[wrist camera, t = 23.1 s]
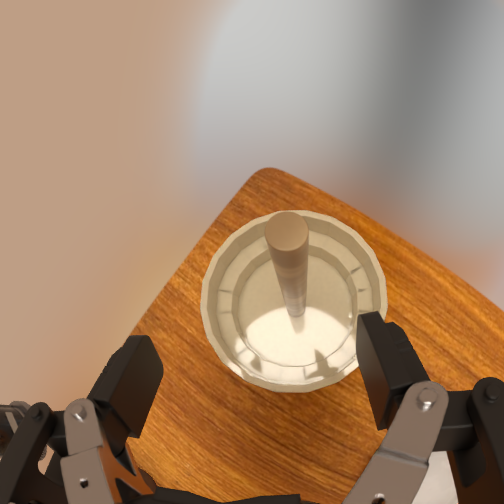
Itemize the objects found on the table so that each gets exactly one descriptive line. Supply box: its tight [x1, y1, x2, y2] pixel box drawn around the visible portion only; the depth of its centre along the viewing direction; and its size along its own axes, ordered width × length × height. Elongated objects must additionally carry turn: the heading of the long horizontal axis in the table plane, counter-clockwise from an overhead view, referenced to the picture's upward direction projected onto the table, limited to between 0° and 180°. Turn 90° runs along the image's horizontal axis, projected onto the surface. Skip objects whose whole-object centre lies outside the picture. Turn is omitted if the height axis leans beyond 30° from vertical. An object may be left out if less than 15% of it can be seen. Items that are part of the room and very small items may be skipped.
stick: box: [264, 211, 309, 317], centre depth 19 cm, size 2×2×17 cm
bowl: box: [200, 210, 388, 392], centre depth 25 cm, size 15×15×6 cm
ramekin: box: [412, 451, 458, 504], centre depth 16 cm, size 11×11×5 cm
